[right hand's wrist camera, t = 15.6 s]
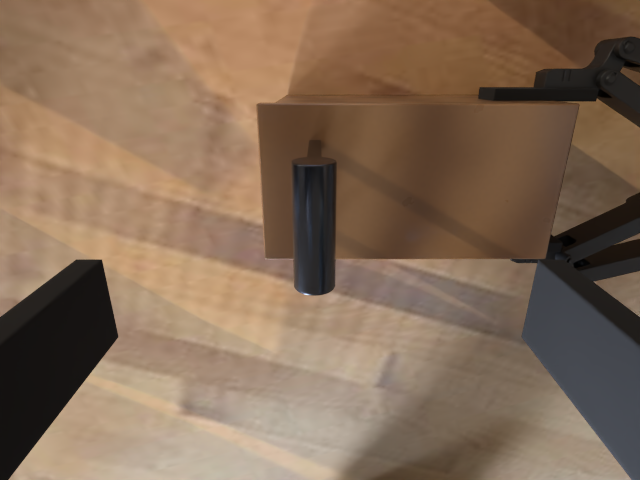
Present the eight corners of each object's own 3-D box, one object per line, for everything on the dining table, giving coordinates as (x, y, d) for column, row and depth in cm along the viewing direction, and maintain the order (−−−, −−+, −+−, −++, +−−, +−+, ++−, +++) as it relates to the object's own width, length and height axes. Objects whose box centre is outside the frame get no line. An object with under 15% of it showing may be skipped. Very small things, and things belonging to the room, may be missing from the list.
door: (266, 253, 28) (244, 330, 20) (258, 102, 24) (226, 117, 16) (537, 252, 28) (633, 329, 20) (569, 102, 25) (703, 116, 16)
